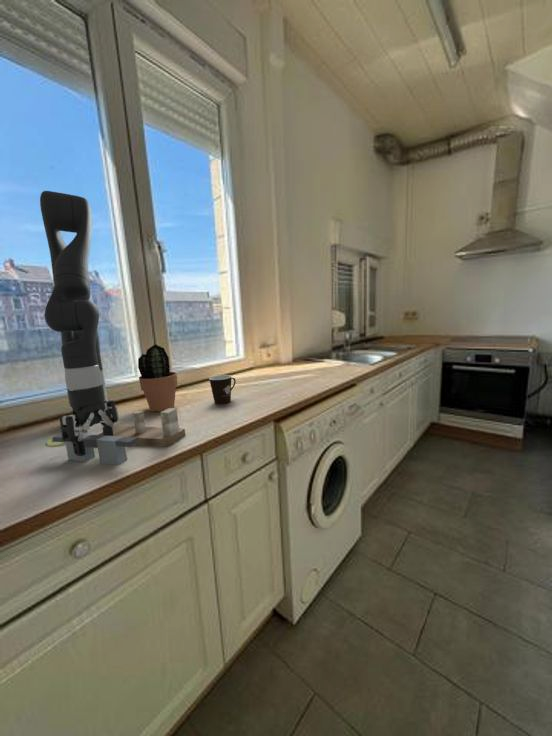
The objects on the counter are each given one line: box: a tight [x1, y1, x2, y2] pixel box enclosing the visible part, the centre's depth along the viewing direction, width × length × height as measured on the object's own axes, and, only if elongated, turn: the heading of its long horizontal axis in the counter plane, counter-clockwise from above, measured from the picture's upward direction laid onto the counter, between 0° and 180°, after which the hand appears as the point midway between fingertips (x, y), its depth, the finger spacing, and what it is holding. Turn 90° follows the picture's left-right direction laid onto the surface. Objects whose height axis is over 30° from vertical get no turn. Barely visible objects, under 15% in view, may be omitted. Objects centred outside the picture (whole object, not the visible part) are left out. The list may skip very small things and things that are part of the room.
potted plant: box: [137, 344, 179, 412], centre depth 120 cm, size 14×14×25 cm
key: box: [46, 427, 91, 448], centre depth 96 cm, size 7×12×2 cm, turn 175°
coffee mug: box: [209, 374, 237, 405], centre depth 125 cm, size 12×9×10 cm
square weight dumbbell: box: [51, 432, 138, 465], centre depth 79 cm, size 24×3×6 cm, turn 74°
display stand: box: [97, 406, 186, 447], centre depth 91 cm, size 24×8×9 cm, turn 74°
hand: (95, 447), depth 79 cm, fingers open, 8 cm apart
